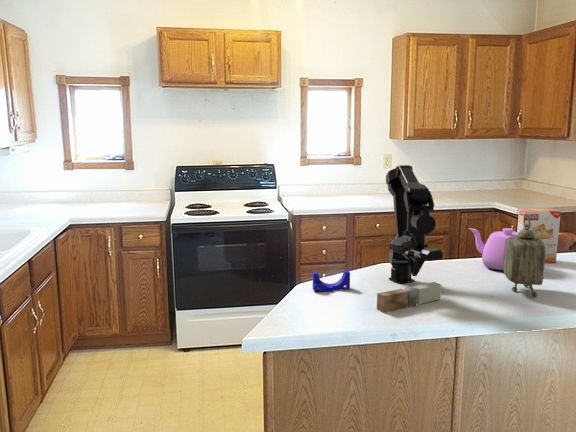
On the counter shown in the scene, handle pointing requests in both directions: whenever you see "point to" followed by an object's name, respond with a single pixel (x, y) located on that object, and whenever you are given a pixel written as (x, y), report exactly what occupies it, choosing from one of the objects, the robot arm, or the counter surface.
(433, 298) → the hinge leaf
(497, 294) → the counter surface
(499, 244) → the teapot
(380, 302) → the hinge base
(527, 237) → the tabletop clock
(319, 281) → the cable clip
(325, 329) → the counter surface
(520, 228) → the cracker box
